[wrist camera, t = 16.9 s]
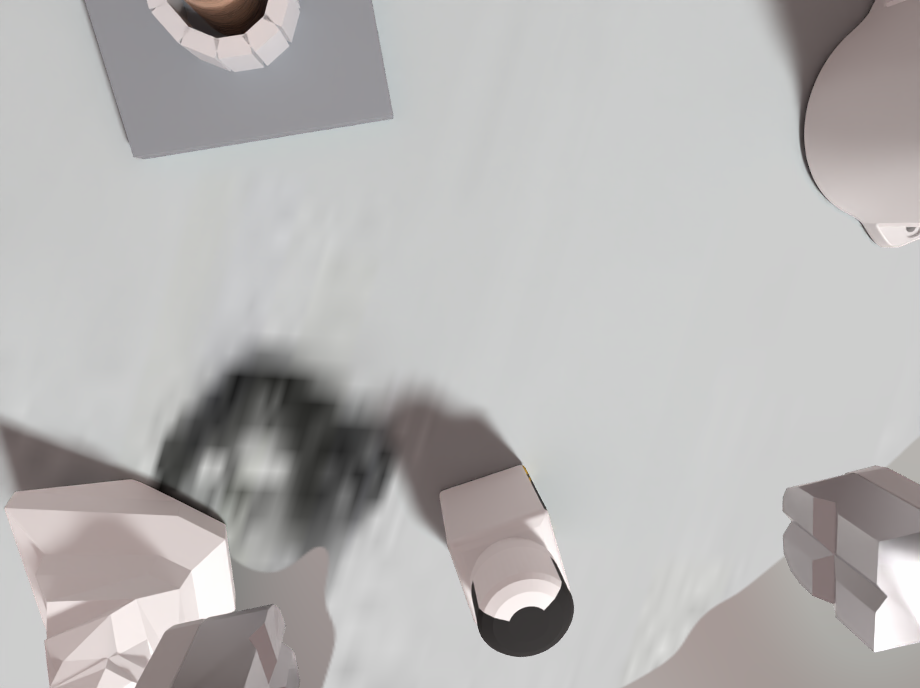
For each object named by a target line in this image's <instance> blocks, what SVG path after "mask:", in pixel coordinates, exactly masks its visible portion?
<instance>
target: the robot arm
mask: <svg viewBox="0 0 920 688" xmlns="http://www.w3.org/2000/svg"><path fill="white" fill-rule="evenodd" d="M804 142H805V151H806V157H807V161H808V165H809V168H810V171H811V174H812V176H813V178H814V180H815V182H816V184H817V186H818V187H819V189H820V190H821V192H822V193H823V194H824V196H825V197H826V198H827V199H828V200H829V201H830V202H831V203H832V204H833V205H835V206H836V207H837V208H839V209H840V210H842V211H844V212H845V213H847V214H849V215H851V216H853V217H854V218H856V219H857V220H859V221H860V222H861V223H862V224H863V225H864V227H865V229H866V230H867V232H868V234H869V235H870V237H871V238H872V239H873V241H874V242H875V243H876V244H877V245H878V246H880V247H883V248H894V247H901V246H904V245H906V244H908V243H911V242H913V241H916V240H918V239H920V0H875V2H874V4H873V6H872V8H871V10H870V12H869V14H868V15H867V16H866V18H865V19H864V20H863V21H862V22H861V23H860V24H859V25H858V26H857V27H856V28H855V29H854V30H853V31H852V32H851V33H850V34H849V35H847V36H846V37H845V38H844V39H843V40H842V42H841V43H840V44H839V45H838V46H837V47H836V48H835V50H834V51H833V52H832V54H831V55H830V56H829V58H828V59H827V61H826V62H825V64H824V66H823V68H822V69H821V71H820V73H819V75H818V77H817V79H816V82H815V84H814V86H813V89H812V92H811V95H810V99H809V102H808V106H807V111H806V117H805V127H804ZM906 227H907V229H906ZM783 512H784V513H785V514H786V515H787V516H788V518H789V519H790V520H791V523H790V524H789V526H788V528H787V529H786V531H785V533H784V534H783V547H784V555H785V558H786V560H787V562H788V565H789V567H790V570H791V572H792V573H793V575H794V576H795V577H796V579H797V580H798V581H799V583H800V584H801V585H802V586H803V587H804V588H805V589H806V590H807V591H808V592H809V593H810V594H811V595H812V596H815V597H817V598H820V599H822V600H825V601H827V602H830V603H832V604H834V610H835V616H836V618H837V619H838V620H839V621H841V622H842V623H843V624H844V625H845V626H846V627H847V628H848V629H849V630H850V631H851V632H852V633H854V634H855V635H856V636H857V637H858V638H859V639H860V640H861V641H862V642H864V644H866V645H867V646H868V647H869V648H870V649H871V650H872V651H873V652H877V651H882V650H886V649H891V648H895V647H900V646H904V645H909V644H913V643H918V642H920V484H918V483H916V482H914V481H912V480H910V479H908V478H906V477H904V476H902V475H901V474H899V473H897V472H895V471H893V470H891V469H889V468H886V467H880V466H871V467H868V468H864V469H860V470H856V471H852V472H848V473H845V474H844V475H841V476H837V477H832V478H828V479H824V480H819V481H815V482H811V483H806V484H802V485H798V486H793V487H789V488H787V489H786V491H785V493H784V496H783ZM285 627H286V625H285V622H284V619H283V616H282V614H281V611H280V608H279V607H277V606H276V605H274V604H271V605H267V606H262V607H257V608H252V609H247V610H242V611H237V612H232V613H227V614H222V615H217V616H212V617H208V618H207V619H199V620H194V621H190V622H185V623H181V624H176V625H173V626H172V627H170V628H169V629H167V630H166V631H165V632H164V634H163V636H162V638H161V640H160V641H159V643H158V645H157V647H156V649H155V651H154V652H153V654H152V656H151V658H150V660H149V662H148V664H147V665H146V667H145V669H144V671H143V673H142V675H141V677H140V678H139V680H138V682H137V684H136V686H135V688H300V679H299V672H298V665H297V661H296V658H295V654H294V651H293V649H291V648H290V647H288V646H287V645H285V644H284V643H283V642H282V639H283V635H284V631H285Z"/></svg>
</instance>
